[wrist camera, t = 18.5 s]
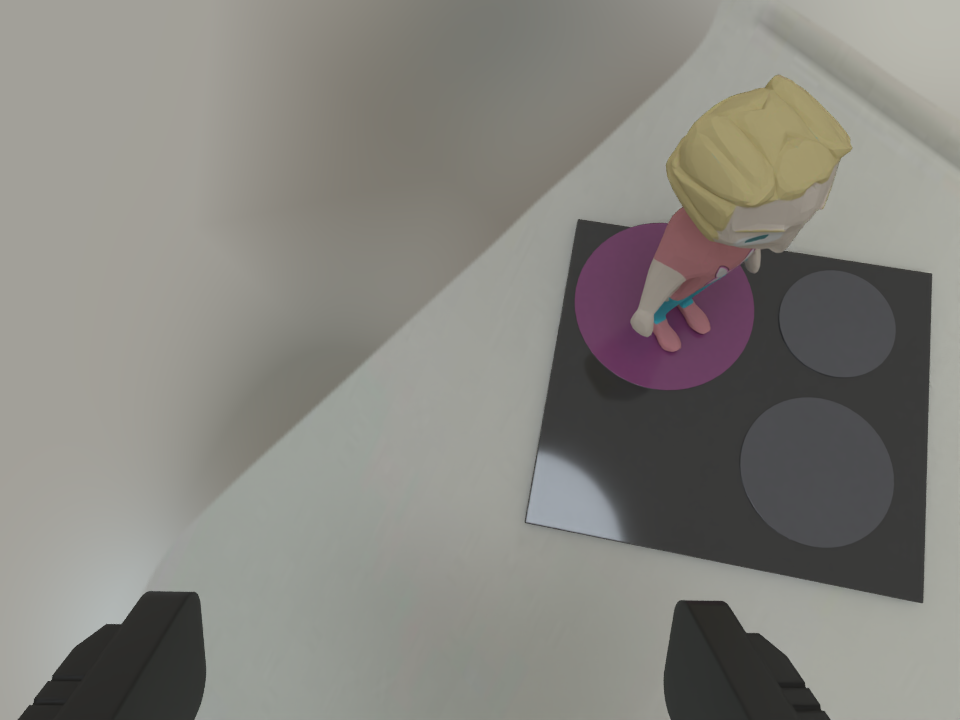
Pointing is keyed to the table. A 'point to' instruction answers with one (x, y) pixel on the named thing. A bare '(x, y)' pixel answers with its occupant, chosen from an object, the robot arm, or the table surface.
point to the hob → (744, 416)
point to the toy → (738, 196)
